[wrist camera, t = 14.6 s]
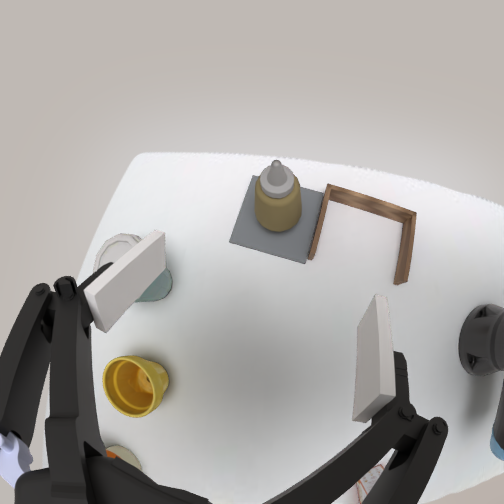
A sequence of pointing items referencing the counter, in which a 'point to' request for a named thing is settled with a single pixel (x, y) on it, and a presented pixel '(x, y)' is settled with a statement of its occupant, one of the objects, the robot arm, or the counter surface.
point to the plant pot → (134, 385)
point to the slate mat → (272, 242)
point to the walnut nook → (380, 209)
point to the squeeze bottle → (277, 198)
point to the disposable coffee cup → (117, 249)
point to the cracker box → (368, 482)
